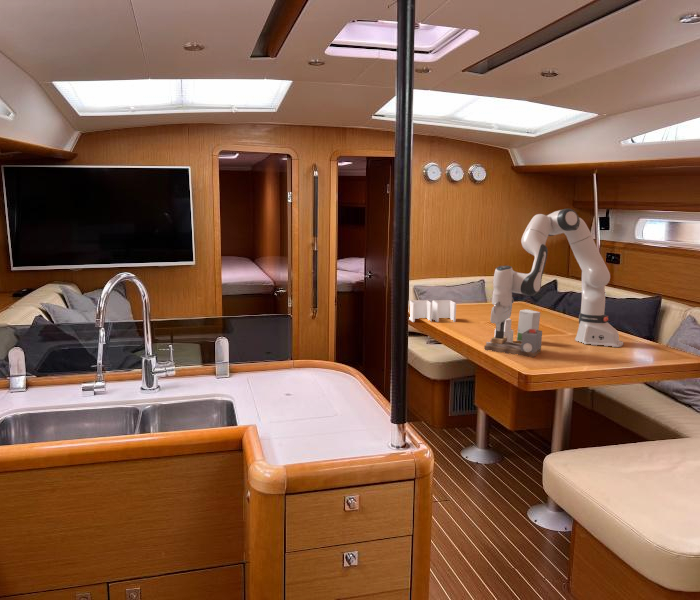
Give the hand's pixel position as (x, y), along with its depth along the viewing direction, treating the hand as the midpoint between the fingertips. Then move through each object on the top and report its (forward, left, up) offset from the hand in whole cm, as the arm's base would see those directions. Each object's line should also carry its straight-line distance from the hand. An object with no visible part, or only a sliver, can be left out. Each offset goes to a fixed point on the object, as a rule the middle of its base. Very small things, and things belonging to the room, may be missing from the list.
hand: (500, 330), depth 292 cm
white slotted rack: (+54, -47, -10) cm, 73 cm away
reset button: (-15, 0, -1) cm, 15 cm away
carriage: (0, 0, -6) cm, 6 cm away
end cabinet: (-15, 0, -9) cm, 18 cm away
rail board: (-7, 0, -9) cm, 11 cm away
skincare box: (-7, -24, -9) cm, 27 cm away
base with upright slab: (+3, -17, -9) cm, 20 cm away
